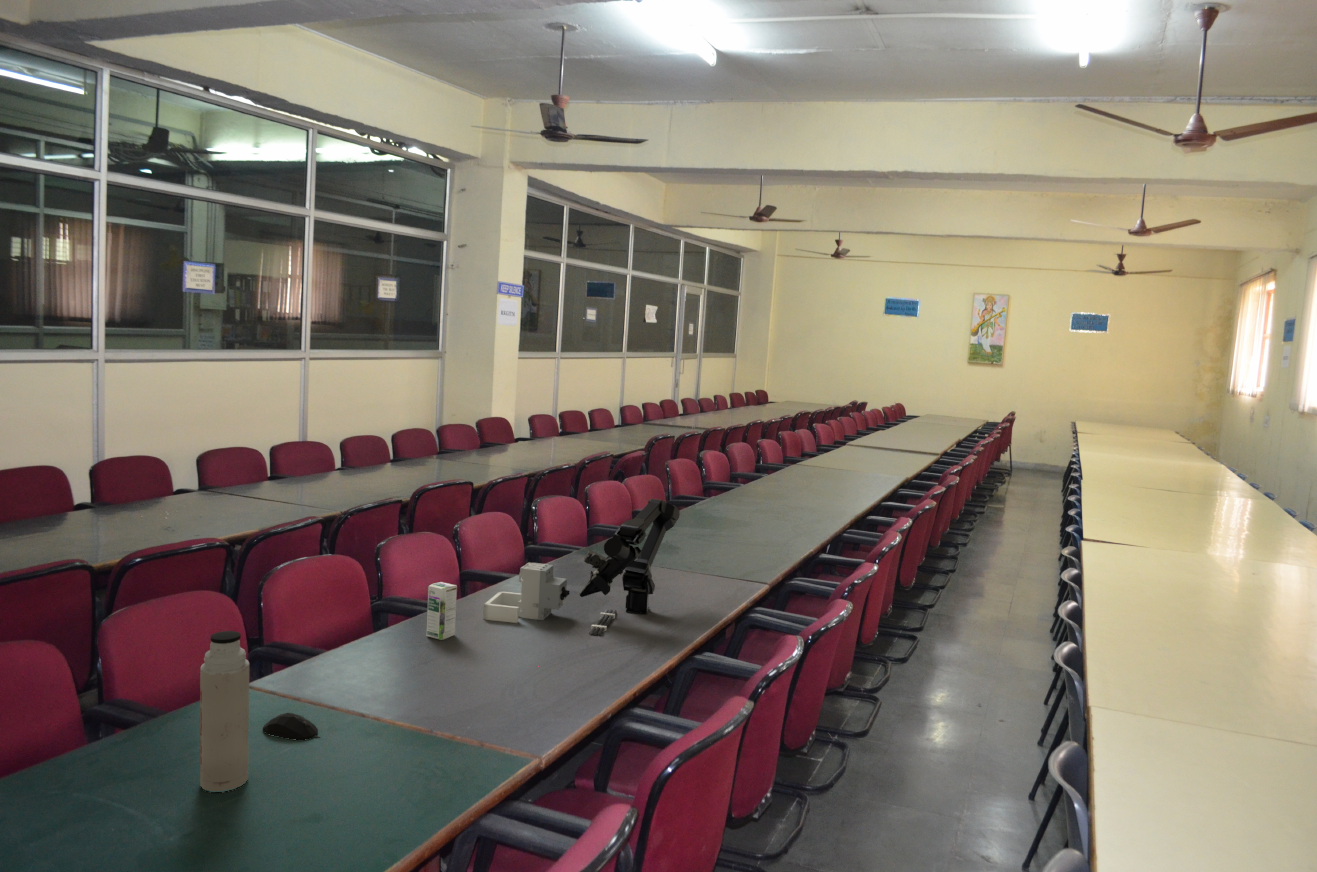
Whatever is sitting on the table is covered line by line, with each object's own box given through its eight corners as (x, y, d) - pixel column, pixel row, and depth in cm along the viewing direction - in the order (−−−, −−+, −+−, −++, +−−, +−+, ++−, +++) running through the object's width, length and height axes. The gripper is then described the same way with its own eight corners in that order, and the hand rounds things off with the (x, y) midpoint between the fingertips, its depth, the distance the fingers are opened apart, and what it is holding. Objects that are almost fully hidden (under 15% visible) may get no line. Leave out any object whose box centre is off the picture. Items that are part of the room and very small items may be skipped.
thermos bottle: (192, 792, 160) (192, 641, 157) (210, 770, 168) (211, 626, 164) (238, 793, 160) (239, 642, 157) (254, 771, 168) (256, 627, 165)
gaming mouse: (316, 747, 180) (316, 728, 179) (256, 734, 184) (256, 715, 184) (336, 735, 186) (336, 716, 185) (277, 722, 190) (277, 704, 190)
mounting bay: (531, 608, 276) (532, 594, 276) (516, 622, 262) (517, 607, 262) (499, 605, 278) (499, 591, 277) (483, 619, 264) (483, 604, 263)
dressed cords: (618, 612, 277) (618, 609, 277) (602, 636, 255) (602, 632, 255) (604, 611, 278) (604, 607, 278) (587, 634, 256) (587, 630, 256)
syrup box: (425, 636, 246) (427, 585, 245) (440, 630, 252) (441, 580, 250) (441, 640, 244) (443, 588, 242) (455, 634, 249) (457, 584, 247)
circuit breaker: (562, 622, 265) (565, 573, 263) (517, 616, 268) (519, 568, 266) (570, 615, 272) (572, 567, 271) (525, 609, 275) (528, 562, 273)
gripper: (601, 535, 277) (563, 568, 278) (600, 549, 259) (560, 585, 259) (625, 560, 279) (587, 594, 279) (626, 577, 260) (586, 612, 261)
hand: (580, 595), depth 270 cm, fingers closed
